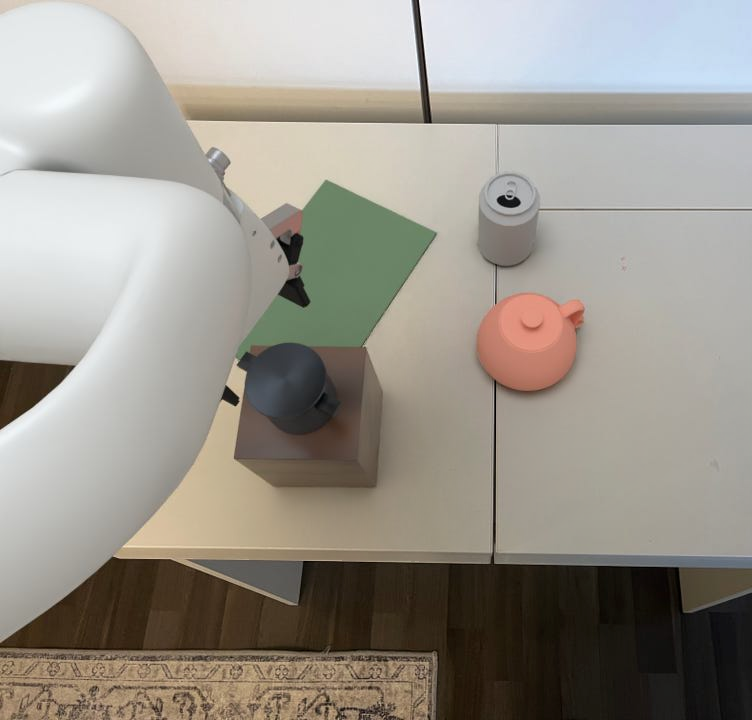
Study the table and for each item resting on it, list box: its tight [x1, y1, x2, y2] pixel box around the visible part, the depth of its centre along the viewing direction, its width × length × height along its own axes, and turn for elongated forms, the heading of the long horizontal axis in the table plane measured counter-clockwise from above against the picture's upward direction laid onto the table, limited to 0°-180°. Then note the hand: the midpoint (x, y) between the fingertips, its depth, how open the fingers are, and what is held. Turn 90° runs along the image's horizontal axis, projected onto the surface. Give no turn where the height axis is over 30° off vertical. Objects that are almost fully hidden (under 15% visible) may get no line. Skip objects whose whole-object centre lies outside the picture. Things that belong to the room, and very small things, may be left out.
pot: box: [236, 343, 342, 435], centre depth 63 cm, size 7×11×6 cm
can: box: [477, 170, 541, 267], centre depth 84 cm, size 8×8×12 cm
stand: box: [233, 345, 384, 489], centre depth 72 cm, size 12×12×14 cm
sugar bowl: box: [476, 292, 586, 392], centre depth 79 cm, size 12×14×10 cm
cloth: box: [235, 179, 438, 360], centre depth 86 cm, size 28×18×1 cm, turn 151°
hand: (259, 345), depth 53 cm, fingers open, 9 cm apart
